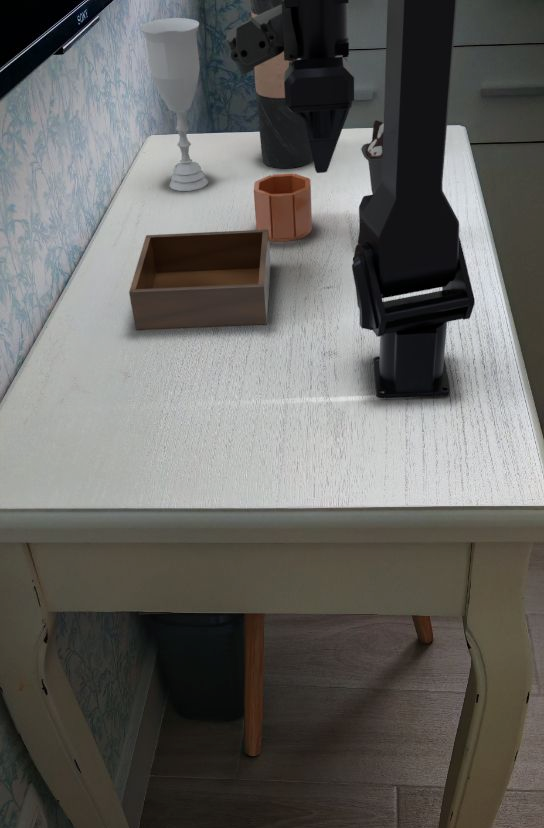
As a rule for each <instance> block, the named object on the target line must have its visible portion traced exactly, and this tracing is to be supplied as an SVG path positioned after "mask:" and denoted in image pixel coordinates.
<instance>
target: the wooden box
mask: <svg viewBox="0 0 544 828" xmlns="http://www.w3.org/2000/svg"><path fill="white" fill-rule="evenodd" d="M270 250H271V249H270V240H269V231H268V229H266V230H256V229H248V230H247V229H246V230H227V231H207V232H206V231H205V232H187V233H183V232H182V233H163V234H146V235H145V237H144V241H143V244H142V248H141V251H140V253H139V258H138V261H137V264H136V267H135V271H134V274H133V276H132V281H131V285H130V287H129V291H128V294H129V300H130V304H131V310H132V316H133V323H134V328H135V331H152V330H174V329H176V330H178V329H180V330H181V329H201V328H202V329H203V328H226V327H249V326H250V327H251V326H267V325H268V311H269V298H270V297H269V295H270V285H271V284H270V282H271V265H272V264H271V251H270Z"/></svg>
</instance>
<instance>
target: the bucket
mask: <svg viewBox="0 0 544 828" xmlns="http://www.w3.org/2000/svg"><path fill="white" fill-rule="evenodd" d="M311 184H312V181H311V178H309V177H306V176H303V175H301V174H298V173H279V174H278V173H276V174H270V175H268V176H264V177H263V178H260V179H257V180H255V181H254V184H253V200H254V213H255V228H256V229H255V230H266V229H268V231H269V242H270V241H271V242H291V241H292V242H293V241H296V240H300V239H303V238H305V237H307V236H309V235H310V234H311V232H312V230H313V224H312V223H313V220H312V219H313V214H312V185H311Z"/></svg>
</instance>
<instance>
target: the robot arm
mask: <svg viewBox="0 0 544 828" xmlns="http://www.w3.org/2000/svg"><path fill="white" fill-rule="evenodd" d="M281 2H282V4H281V5H279V6H277V7H275V8H273V9H270V10H268V11H266V12H263V13H262V14H260V15H258V16H256V17H254V18H252V16H250V17H249V18H248V20H245V21H244V22H242V23H241V22H238V23H237V24H236V26H235V27H232V28H231V29H230V30H229V31H228V32H227V34H226V38H225V42H226V44H227V46H228V49H229V52H230V59H231V61H233V62H234V64H235V66H236V68H237V71H238V73H239V75H240V76H244V75H247V74H248V73H250V72H252V71H253V70H255V68H254V67H255V66H257V65H260V64H262V63H264V62H266V61H268V60H270V59H272V58H274V57H276V56H278V55H279V54H281V53H282V52H283V51H284V61H285V60H288V61H290V62H289V67H288V69H287V70H286V71H285V77H284V89H285V105H287V107H288V109H289V110H290V111H291V112H294V113H295V114H297V115H298V116H299V117H300V118H301V119H302V120H303V121H304V124H305V128H306V132H307V136H308V140H309V145H310V149H311V153H312V158H313V161H312V162H313V166H314V171H315V172H316V173H317V174H323V173H327V172H328V169H329V167H330V164H331V162H332V159H333V156H334V153H335V150H336V147H337V145H338V142H339V139H340V137H341V133H342V131H343V128H344V126H345V123H346V121H347V118H348V115H349V113H350V110H351V108H352V107H353V103H354V101H355V75H354V67H353V66H352V65H351V64H350V63H349V62H348V58H349V55H350V41H349V0H281ZM457 3H458V0H387V7H386V9H387V11H386V13H387V14H386V39H385V40H386V41H385V43H386V44H385V71H384V72H385V73H384V74H385V76H384V102H383V103H384V104H383V123H384V130H383V160H382V181H381V184H380V185H379V187H378V189H377V190H376V192H375V194H367V195H364V196H363V197H362V198H361V201H360V203H359V206H358V220H359V221H358V222H359V223H358V224H359V226H358V228H359V229H358V238H357V244H356V245H355V247H354V254H353V257H352V264H351V270H352V275H353V281H354V285H355V295H356V303H357V304H356V305H357V308H358V311H359V326H360V328H361V329H364V330H368V331H372V332H373V334H374V335H375V336H376V337H379V356H374V357H373V358H372V365H373V374H374V375H373V376H374V385H375V394H376V395H375V396H376V398H378V399H405V398H406V399H407V398H434V397H435V398H436V397H438V398H439V397H448V396H450V394H451V384H450V380H449V375H448V371H447V365H446V360H445V352H446V340H447V328H448V322H453V321H459V320H469V319H471V316H472V313H473V311H474V306H475V303H476V301H475V295H474V291H473V287H472V283H471V278H470V275H469V270H468V266H467V262H466V257H465V254H464V250H463V246H462V241H461V239H460V221H459V219H458V216H457V215H456V213H455V211H454V209H453V207H452V205H451V204H450V201H448V199H447V196H446V194H445V192H444V190H443V179H444V169H445V168H444V167H445V154H446V144H447V142H446V141H447V131H448V129H447V128H448V120H449V119H448V117H449V104H450V92H451V79H452V67H453V56H454V55H453V54H454V42H455V29H456V15H457V5H458V4H457ZM293 60H294V61H293ZM438 288H439V289H440V288H441V290H437V291H433V292H427V293H422V294H417V295H412V296H406V297H400V298H396V299H390V300H386V301H384V300H383V299H387V298H393V297H397V296H403V295H407V294H414V293H419V292H423V291H429V290H434V289H438Z"/></svg>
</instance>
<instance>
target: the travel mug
mask: <svg viewBox="0 0 544 828" xmlns="http://www.w3.org/2000/svg"><path fill="white" fill-rule="evenodd" d="M281 4H282V2H281V0H250V13H251V17H252V18H254V17H256V16H258V15H260V14H262V13H263V12H266V11H268V10H270V9H273V8H275V7H277V6H279V5H281ZM293 61H294V60H293ZM289 62H290V61H288V60H285V61H284V51H283V52H282V53H281V54H279V55H278V56H276V57H274V58H272V59H270V60H268V61H266V62H264V63H262V64H260V65H257V66H255V67H254V84H255V97H256V108H257V118H258V119H257V120H258V129H259V140H260V141H259V142H260V152H261V160H262V162H263V164H265V165H266V166H268V167H270V168H276V169H294V168H295V169H296V168H300V167H304V166H306V165H308V164H310V163H312V162H313V158H312V153H311V149H310V145H309V140H308V136H307V132H306V128H305V124H304V121H303V120H302V119H301V118H300V117H299V116H298V115H297V114H295V113H294V112H291V111H290V110H289V109H288V107H287V105H285V89H284V77H285V71H286V70H287V69H288V67H289Z"/></svg>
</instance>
